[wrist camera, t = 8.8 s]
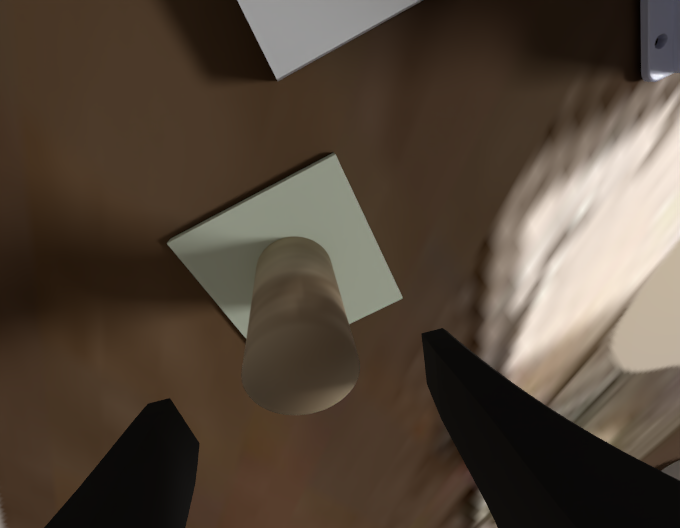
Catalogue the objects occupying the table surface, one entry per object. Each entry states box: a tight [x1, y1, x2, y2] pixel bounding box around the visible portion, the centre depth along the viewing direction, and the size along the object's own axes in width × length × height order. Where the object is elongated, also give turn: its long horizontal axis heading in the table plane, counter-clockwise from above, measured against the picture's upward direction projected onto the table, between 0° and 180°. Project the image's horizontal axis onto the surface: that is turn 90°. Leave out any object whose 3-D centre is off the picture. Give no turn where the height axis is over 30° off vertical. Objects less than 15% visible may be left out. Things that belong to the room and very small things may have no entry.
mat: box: [167, 153, 403, 338], centre depth 16 cm, size 8×8×1 cm
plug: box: [242, 237, 360, 415], centre depth 13 cm, size 4×4×6 cm
